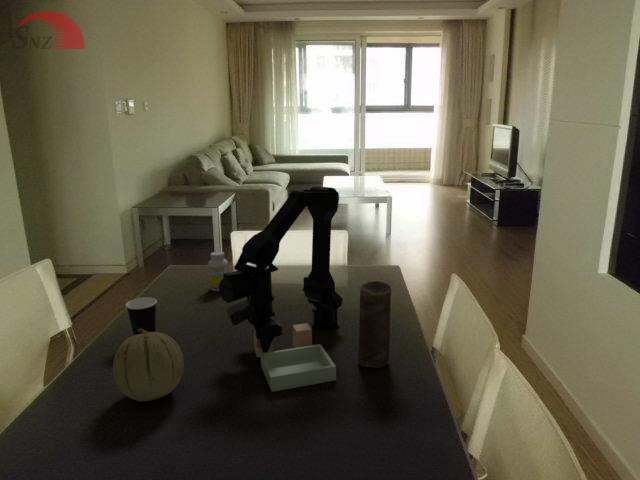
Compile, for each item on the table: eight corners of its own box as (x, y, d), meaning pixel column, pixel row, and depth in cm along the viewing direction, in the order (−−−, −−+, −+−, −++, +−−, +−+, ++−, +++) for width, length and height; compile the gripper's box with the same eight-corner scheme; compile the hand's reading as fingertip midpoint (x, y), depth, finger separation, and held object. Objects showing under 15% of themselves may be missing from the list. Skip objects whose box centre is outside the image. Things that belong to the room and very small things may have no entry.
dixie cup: (126, 347, 136) (121, 308, 133) (135, 334, 144) (130, 297, 141) (156, 346, 136) (152, 307, 134) (164, 333, 144) (160, 296, 141)
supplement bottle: (220, 284, 184) (217, 249, 181) (233, 287, 180) (231, 252, 177) (206, 289, 179) (203, 254, 175) (219, 293, 175) (217, 256, 172)
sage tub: (320, 356, 129) (320, 343, 128) (336, 380, 118) (335, 366, 117) (261, 366, 125) (260, 353, 124) (271, 391, 113) (270, 377, 113)
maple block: (269, 348, 134) (268, 326, 133) (273, 355, 130) (272, 333, 129) (254, 350, 133) (253, 329, 131) (257, 357, 129) (256, 335, 128)
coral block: (308, 344, 136) (307, 323, 134) (312, 350, 132) (311, 329, 131) (293, 346, 135) (292, 325, 133) (297, 353, 131) (296, 331, 130)
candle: (392, 359, 126) (393, 282, 122) (386, 374, 120) (387, 292, 115) (362, 355, 129) (362, 279, 124) (354, 369, 122) (354, 289, 117)
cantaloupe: (148, 423, 103) (139, 354, 99) (101, 402, 111) (92, 338, 107) (201, 389, 115) (195, 326, 111) (156, 372, 123) (149, 314, 119)
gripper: (222, 283, 134) (227, 338, 138) (232, 309, 117) (237, 371, 120) (265, 278, 137) (268, 332, 141) (281, 302, 120) (283, 363, 124)
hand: (263, 349), depth 131 cm, fingers closed on maple block, 4 cm apart
